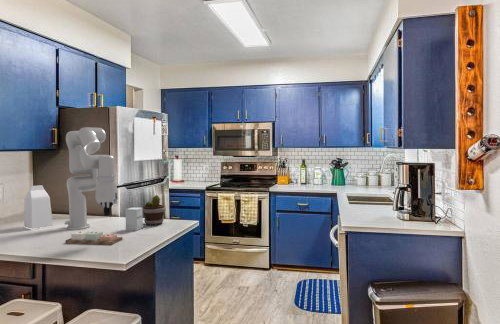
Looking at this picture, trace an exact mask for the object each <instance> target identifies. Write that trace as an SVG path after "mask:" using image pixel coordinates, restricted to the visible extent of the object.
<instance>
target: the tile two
mask: <svg viewBox="0 0 500 324" xmlns="http://www.w3.org/2000/svg"><path fill="white" fill-rule="evenodd" d="M102 235H104V231H89V233H87V234H85V240H98V239H100V236H102Z"/></svg>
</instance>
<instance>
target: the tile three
mask: <svg viewBox="0 0 500 324" xmlns="http://www.w3.org/2000/svg"><path fill="white" fill-rule="evenodd" d="M117 237H118V234H117V233H105V234H103V235H102V236H100V241H112V240H114V239H116V238H117Z"/></svg>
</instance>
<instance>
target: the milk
mask: <svg viewBox="0 0 500 324" xmlns="http://www.w3.org/2000/svg"><path fill="white" fill-rule="evenodd" d="M23 205H24V209H23V217H24V218H23V227H24V226H25V227H28V228H32V229H33V228H40V227H47V226H53V227H54V224H53V214H52V207H51V206H52V205H51V197H50V195H49V194H48V192H47V191H46V190H45V188H44V186H43V184H42V185H31V186H30V188H29V190H28V192H27V193H26V195H25V197H24V204H23Z"/></svg>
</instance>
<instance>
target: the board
mask: <svg viewBox="0 0 500 324" xmlns="http://www.w3.org/2000/svg"><path fill="white" fill-rule="evenodd" d="M123 239H124V238H123V236H117V238H116V239H114V240H112V241H100V239H98V240H85V239H83V240H72V239H71V237H70V238H68V239H66V240H65V241H64V243H65V244H71V245H72V244H74V245H75V244H79V245H81V244H82V245H103V246H104V245H105V246H113V245H115V244H117V243H119V242H122V241H123Z"/></svg>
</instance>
